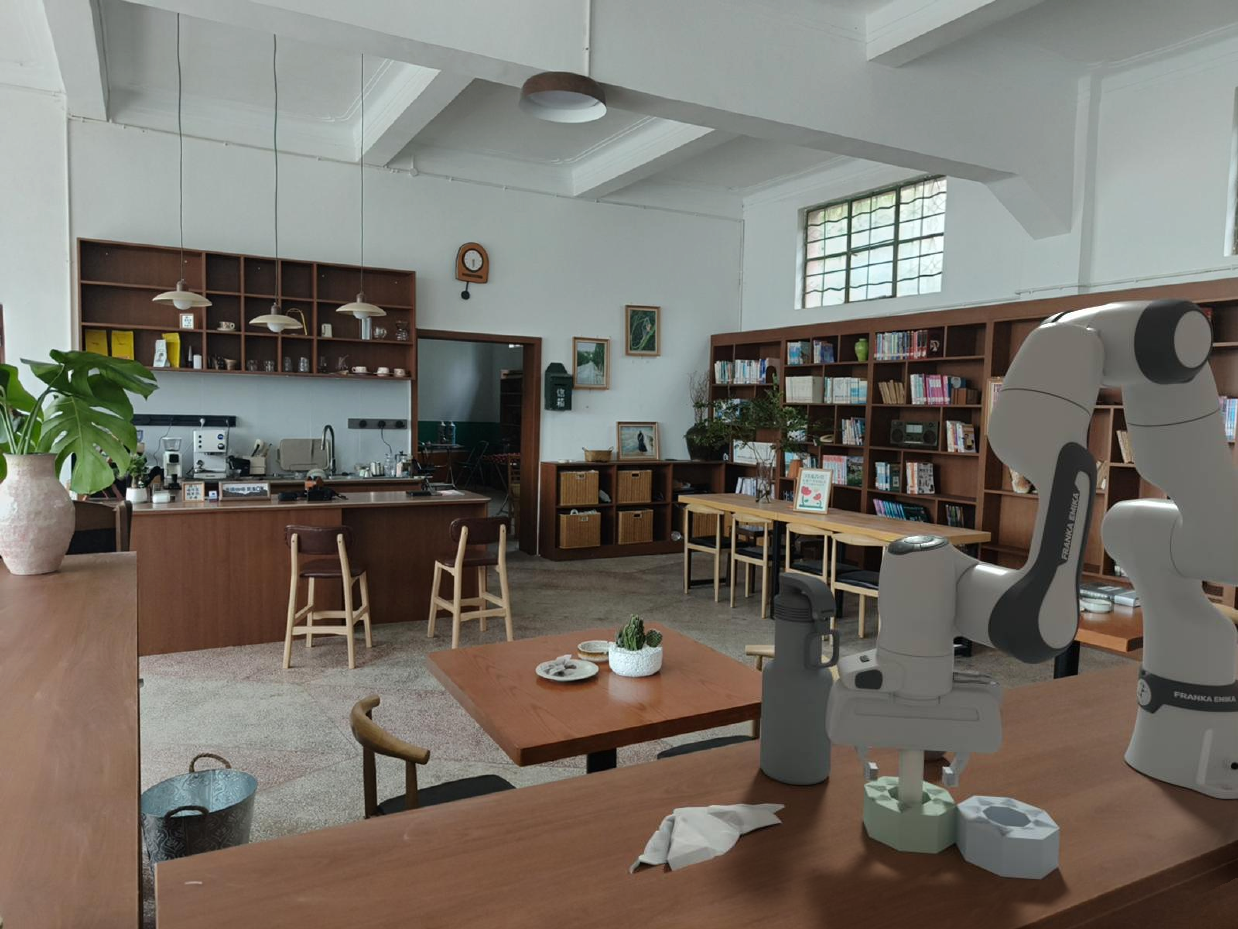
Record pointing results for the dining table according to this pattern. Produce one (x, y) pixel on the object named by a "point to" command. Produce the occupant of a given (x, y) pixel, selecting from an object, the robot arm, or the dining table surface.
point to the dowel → (910, 776)
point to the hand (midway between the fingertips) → (909, 782)
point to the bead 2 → (1007, 837)
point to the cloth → (703, 833)
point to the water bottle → (798, 683)
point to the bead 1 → (909, 817)
